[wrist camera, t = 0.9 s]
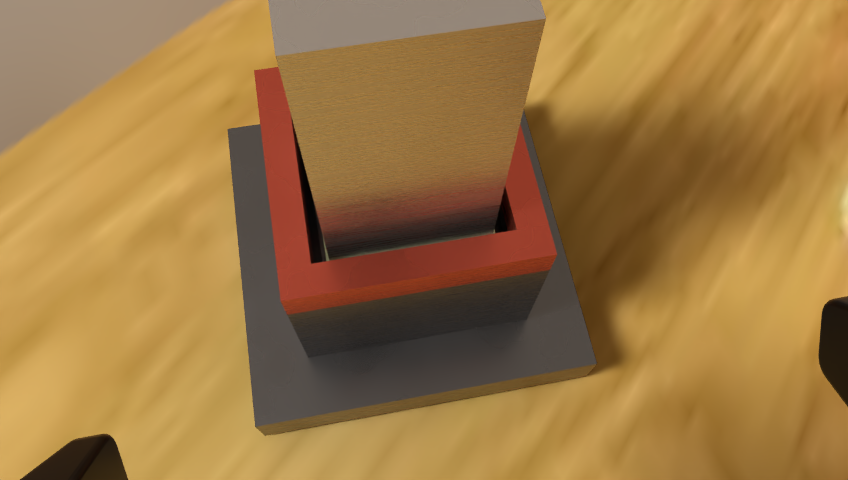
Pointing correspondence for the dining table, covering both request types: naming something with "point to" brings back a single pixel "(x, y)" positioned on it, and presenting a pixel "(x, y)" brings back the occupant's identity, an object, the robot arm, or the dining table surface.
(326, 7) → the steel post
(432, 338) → the stand
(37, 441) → the dining table surface
